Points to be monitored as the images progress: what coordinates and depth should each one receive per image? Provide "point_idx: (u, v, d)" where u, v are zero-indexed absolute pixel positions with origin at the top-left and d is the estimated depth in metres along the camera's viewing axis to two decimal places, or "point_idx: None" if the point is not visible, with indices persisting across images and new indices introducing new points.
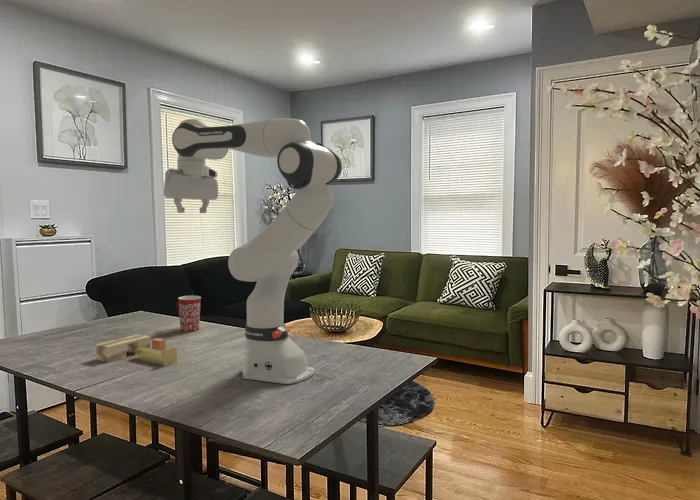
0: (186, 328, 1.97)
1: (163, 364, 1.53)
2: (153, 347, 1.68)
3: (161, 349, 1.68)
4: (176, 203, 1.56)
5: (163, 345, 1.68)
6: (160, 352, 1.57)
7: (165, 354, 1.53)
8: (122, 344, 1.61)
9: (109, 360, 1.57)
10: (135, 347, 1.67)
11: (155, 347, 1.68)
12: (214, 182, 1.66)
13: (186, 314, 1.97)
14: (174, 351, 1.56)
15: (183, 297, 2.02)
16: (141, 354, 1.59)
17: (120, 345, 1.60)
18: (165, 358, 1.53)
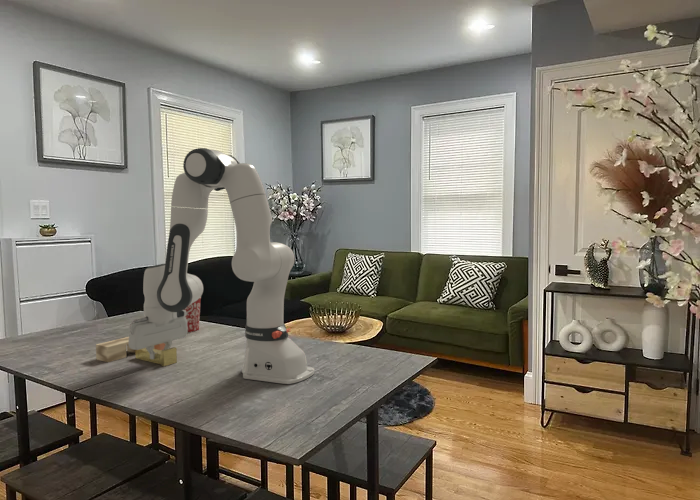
0: None
1: (163, 364, 1.53)
2: None
3: (161, 349, 1.68)
4: (148, 350, 1.54)
5: (163, 345, 1.68)
6: (160, 352, 1.57)
7: (165, 354, 1.53)
8: (122, 344, 1.61)
9: (109, 360, 1.57)
10: None
11: (155, 347, 1.68)
12: (183, 321, 1.62)
13: (186, 314, 1.97)
14: (174, 351, 1.56)
15: None
16: (142, 354, 1.59)
17: (120, 345, 1.60)
18: (165, 358, 1.53)
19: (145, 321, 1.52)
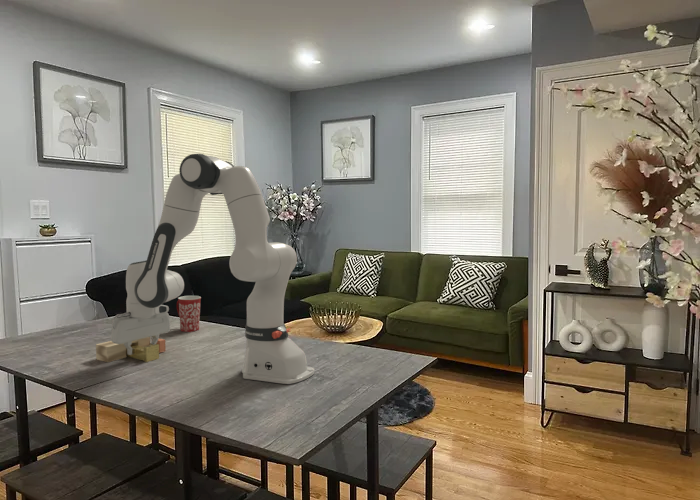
0: (186, 328, 1.97)
1: (145, 360, 1.57)
2: None
3: (161, 349, 1.68)
4: (126, 346, 1.56)
5: (163, 345, 1.68)
6: (143, 348, 1.61)
7: (147, 350, 1.57)
8: (122, 344, 1.61)
9: (109, 360, 1.57)
10: None
11: None
12: (165, 316, 1.66)
13: (186, 314, 1.97)
14: (156, 347, 1.60)
15: (183, 297, 2.02)
16: None
17: (120, 345, 1.60)
18: (147, 354, 1.57)
19: (127, 316, 1.56)
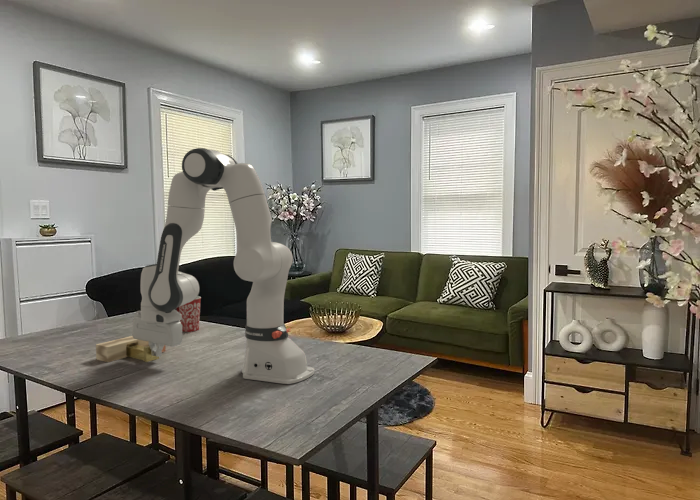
0: (186, 328, 1.97)
1: (145, 360, 1.57)
2: None
3: None
4: None
5: None
6: (143, 348, 1.61)
7: (147, 350, 1.57)
8: (122, 344, 1.61)
9: (109, 360, 1.57)
10: None
11: None
12: (166, 328, 1.51)
13: (186, 314, 1.97)
14: None
15: None
16: None
17: (120, 345, 1.60)
18: (147, 354, 1.57)
19: None
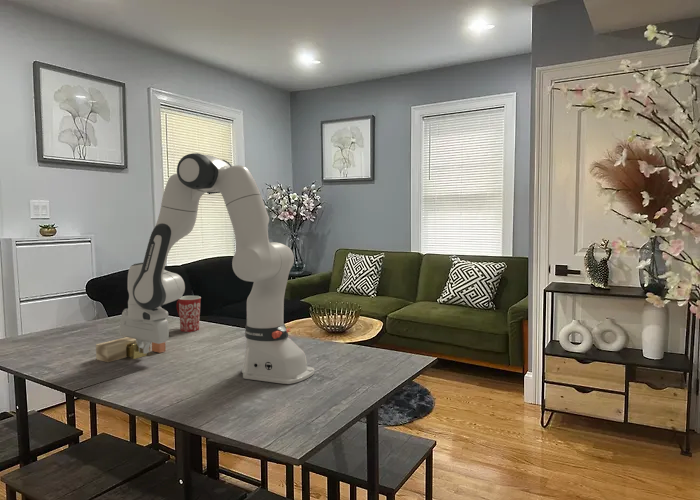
0: (186, 328, 1.97)
1: (133, 357, 1.60)
2: (153, 347, 1.68)
3: (161, 349, 1.68)
4: None
5: (163, 345, 1.68)
6: (131, 345, 1.64)
7: (134, 347, 1.60)
8: (122, 344, 1.61)
9: (109, 360, 1.57)
10: None
11: (155, 347, 1.68)
12: (153, 325, 1.54)
13: (186, 314, 1.97)
14: None
15: (183, 297, 2.02)
16: None
17: (120, 345, 1.60)
18: (134, 351, 1.60)
19: None
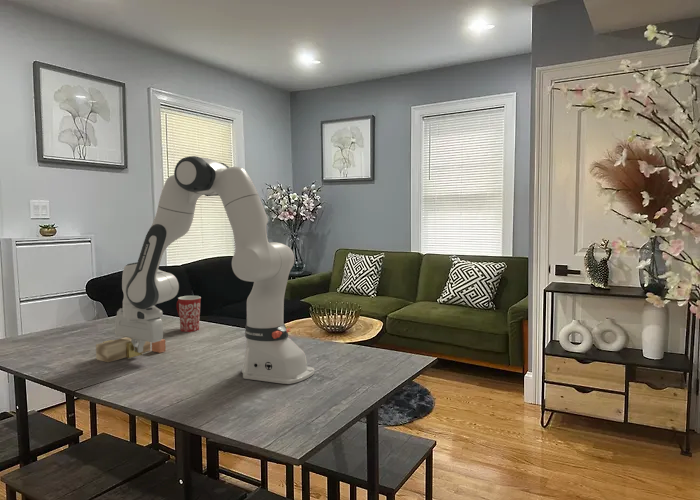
0: (186, 328, 1.97)
1: (128, 356, 1.61)
2: (153, 347, 1.68)
3: (161, 349, 1.68)
4: None
5: (163, 345, 1.68)
6: (126, 344, 1.66)
7: (130, 346, 1.61)
8: (122, 344, 1.61)
9: (109, 360, 1.57)
10: None
11: (155, 347, 1.68)
12: (147, 324, 1.56)
13: (186, 314, 1.97)
14: None
15: (183, 297, 2.02)
16: None
17: (120, 345, 1.60)
18: (130, 350, 1.62)
19: None
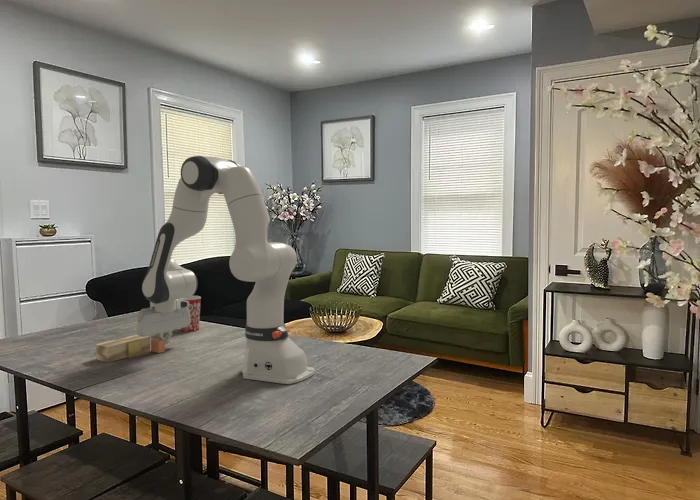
0: (186, 328, 1.97)
1: (128, 356, 1.62)
2: (152, 347, 1.68)
3: (160, 349, 1.67)
4: (158, 336, 1.69)
5: (162, 345, 1.68)
6: None
7: (130, 346, 1.62)
8: (122, 344, 1.61)
9: (109, 360, 1.57)
10: None
11: (154, 348, 1.68)
12: (186, 311, 1.76)
13: None
14: (139, 343, 1.65)
15: None
16: None
17: (120, 345, 1.60)
18: (130, 350, 1.62)
19: (151, 311, 1.65)
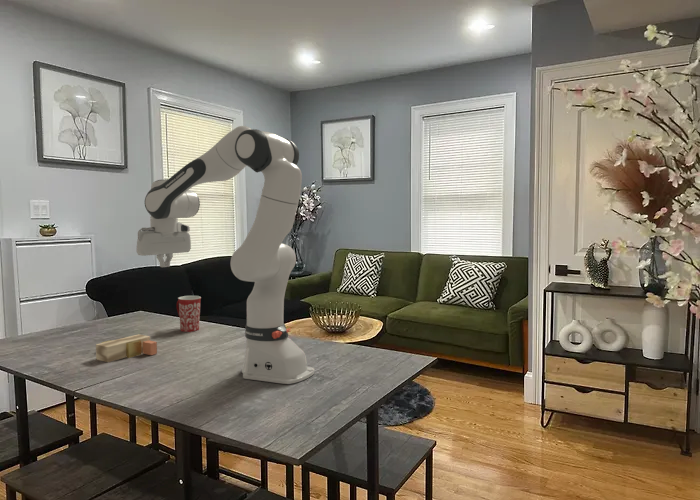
0: (186, 328, 1.97)
1: (128, 356, 1.62)
2: (144, 349, 1.65)
3: (152, 351, 1.64)
4: (159, 258, 1.68)
5: (154, 347, 1.65)
6: None
7: (129, 346, 1.62)
8: (122, 344, 1.61)
9: (109, 360, 1.57)
10: None
11: (146, 350, 1.65)
12: (186, 236, 1.75)
13: (186, 314, 1.97)
14: (138, 343, 1.65)
15: (183, 297, 2.02)
16: None
17: (120, 345, 1.60)
18: (130, 350, 1.62)
19: (152, 231, 1.64)
